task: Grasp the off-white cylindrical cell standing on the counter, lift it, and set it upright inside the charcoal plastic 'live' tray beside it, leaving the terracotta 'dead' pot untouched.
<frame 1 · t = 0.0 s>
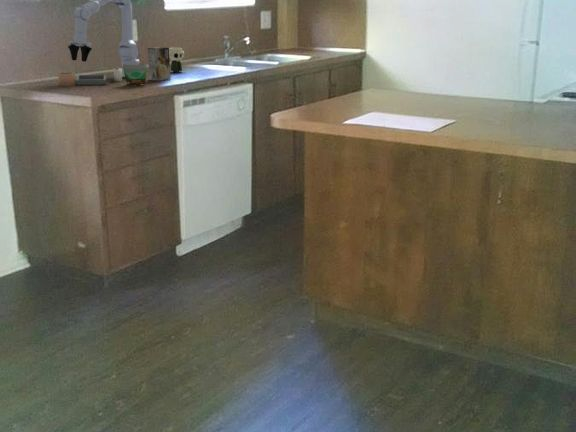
hand: (79, 60, 361), 11 cm above the countertop, tool pointing down, fingers open, 7 cm apart
cell: (118, 80, 371), on the countertop
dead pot: (67, 85, 354), on the countertop
big headed figurine: (176, 72, 408), on the countertop
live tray: (91, 82, 365), on the countertop
food container: (137, 85, 357), on the countertop
coffee box: (159, 79, 378), on the countertop
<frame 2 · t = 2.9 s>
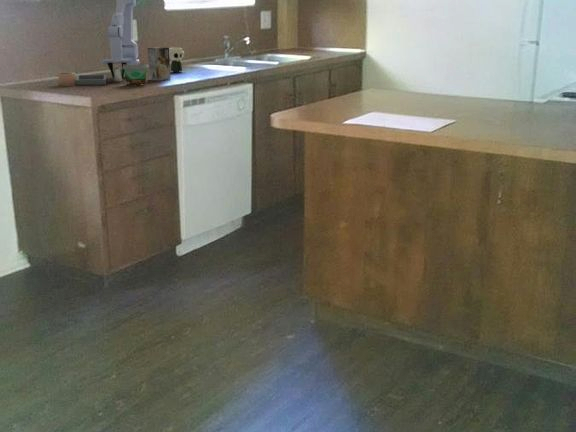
hand: (118, 78, 371), 1 cm above the countertop, tool pointing down, fingers closed on cell, 4 cm apart
cell: (118, 80, 371), on the countertop, touching gripper
everything else where it was.
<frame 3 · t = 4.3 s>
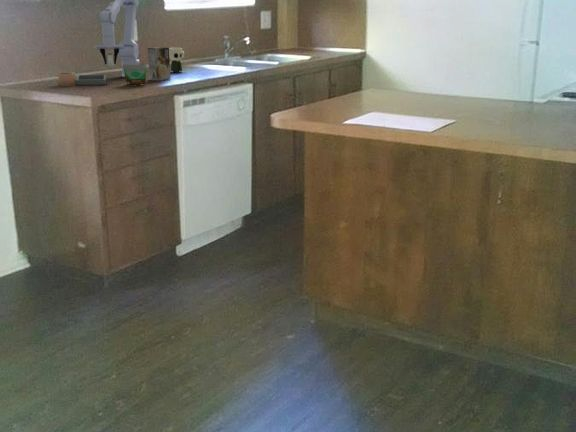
hand: (110, 64, 368), 8 cm above the countertop, tool pointing down, fingers closed on cell, 4 cm apart
cell: (110, 66, 368), point 7 cm above the countertop, touching gripper
everything else where it was.
when the fingers open (3 cm above the countertop, at t = 6.2 s): cell drops 1 cm, resting on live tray.
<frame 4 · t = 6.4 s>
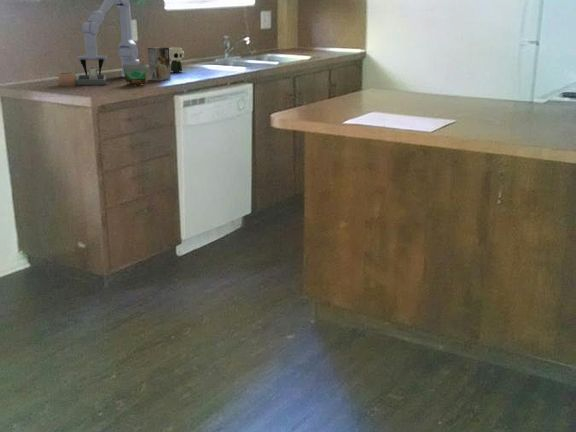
hand: (93, 74, 366), 3 cm above the countertop, tool pointing down, fingers open, 6 cm apart
cell: (93, 80, 367), point 1 cm above the countertop, touching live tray
everything else where it was.
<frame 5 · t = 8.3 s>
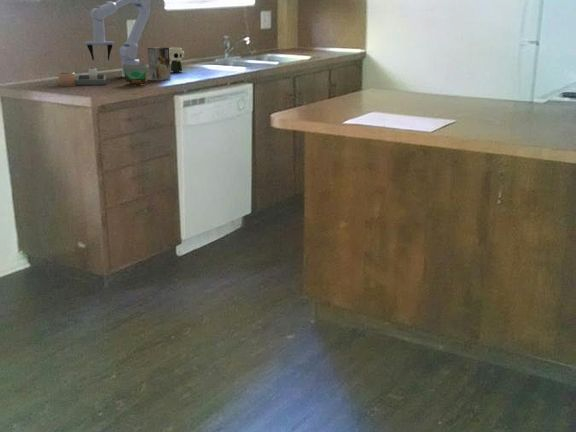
hand: (100, 59, 377), 9 cm above the countertop, tool pointing down, fingers open, 7 cm apart
nothing on the countertop moved.
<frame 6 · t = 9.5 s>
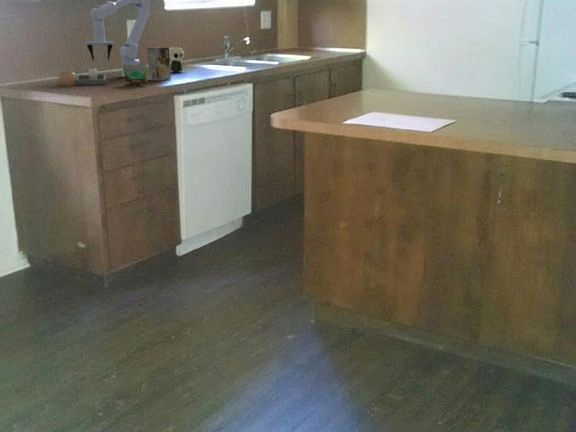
hand: (100, 59, 377), 9 cm above the countertop, tool pointing down, fingers open, 7 cm apart
nothing on the countertop moved.
at the end: cell inside the target area on the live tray (2.1 cm from its centre), point 0.5 cm above the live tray's base; cell tilted 0°; the gripper is holding nothing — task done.
